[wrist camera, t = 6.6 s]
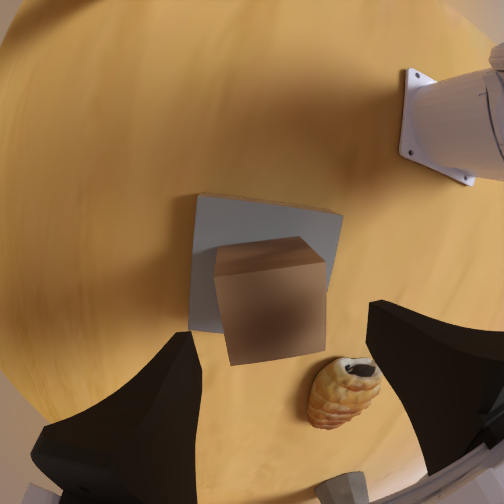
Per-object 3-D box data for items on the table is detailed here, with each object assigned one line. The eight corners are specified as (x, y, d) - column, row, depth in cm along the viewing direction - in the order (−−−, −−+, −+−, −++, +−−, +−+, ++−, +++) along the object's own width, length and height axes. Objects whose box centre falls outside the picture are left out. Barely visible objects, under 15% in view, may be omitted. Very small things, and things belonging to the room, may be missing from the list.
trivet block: (327, 208, 20) (343, 215, 17) (304, 318, 22) (314, 338, 19) (202, 191, 19) (197, 195, 16) (192, 309, 21) (188, 329, 18)
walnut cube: (299, 235, 17) (325, 261, 12) (303, 307, 19) (325, 350, 14) (217, 246, 17) (213, 277, 12) (229, 318, 18) (230, 366, 14)
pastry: (344, 417, 27) (354, 441, 23) (290, 417, 26) (296, 444, 22) (381, 354, 24) (398, 378, 20) (322, 350, 23) (335, 378, 20)
